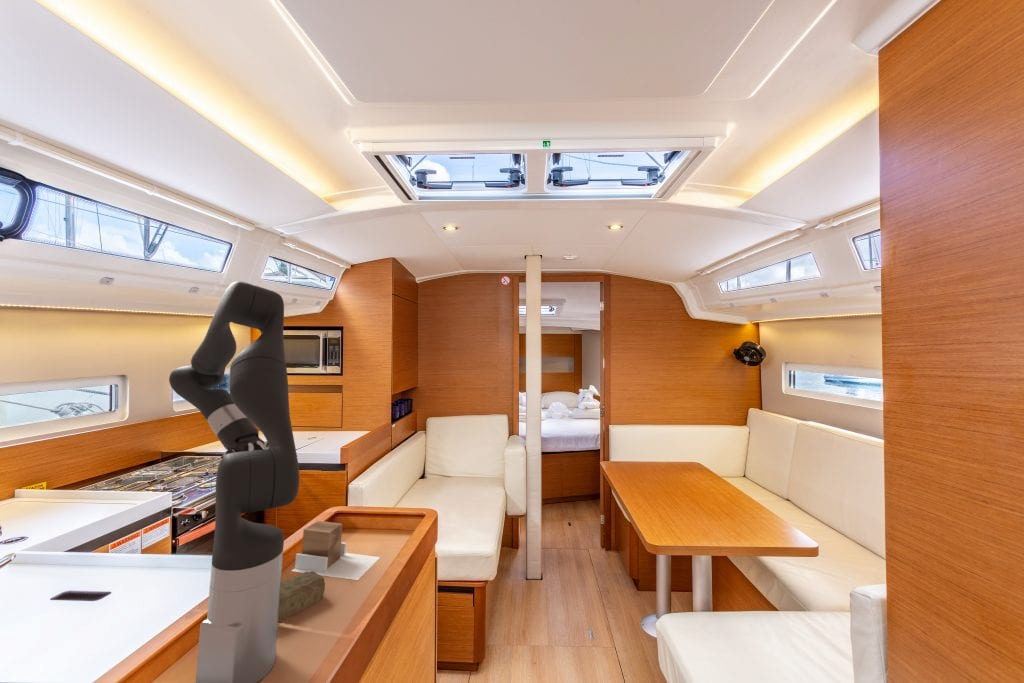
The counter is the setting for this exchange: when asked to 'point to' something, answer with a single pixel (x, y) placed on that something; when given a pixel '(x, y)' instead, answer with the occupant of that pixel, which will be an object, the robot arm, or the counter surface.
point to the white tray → (336, 564)
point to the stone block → (300, 593)
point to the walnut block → (323, 540)
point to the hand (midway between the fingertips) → (271, 479)
